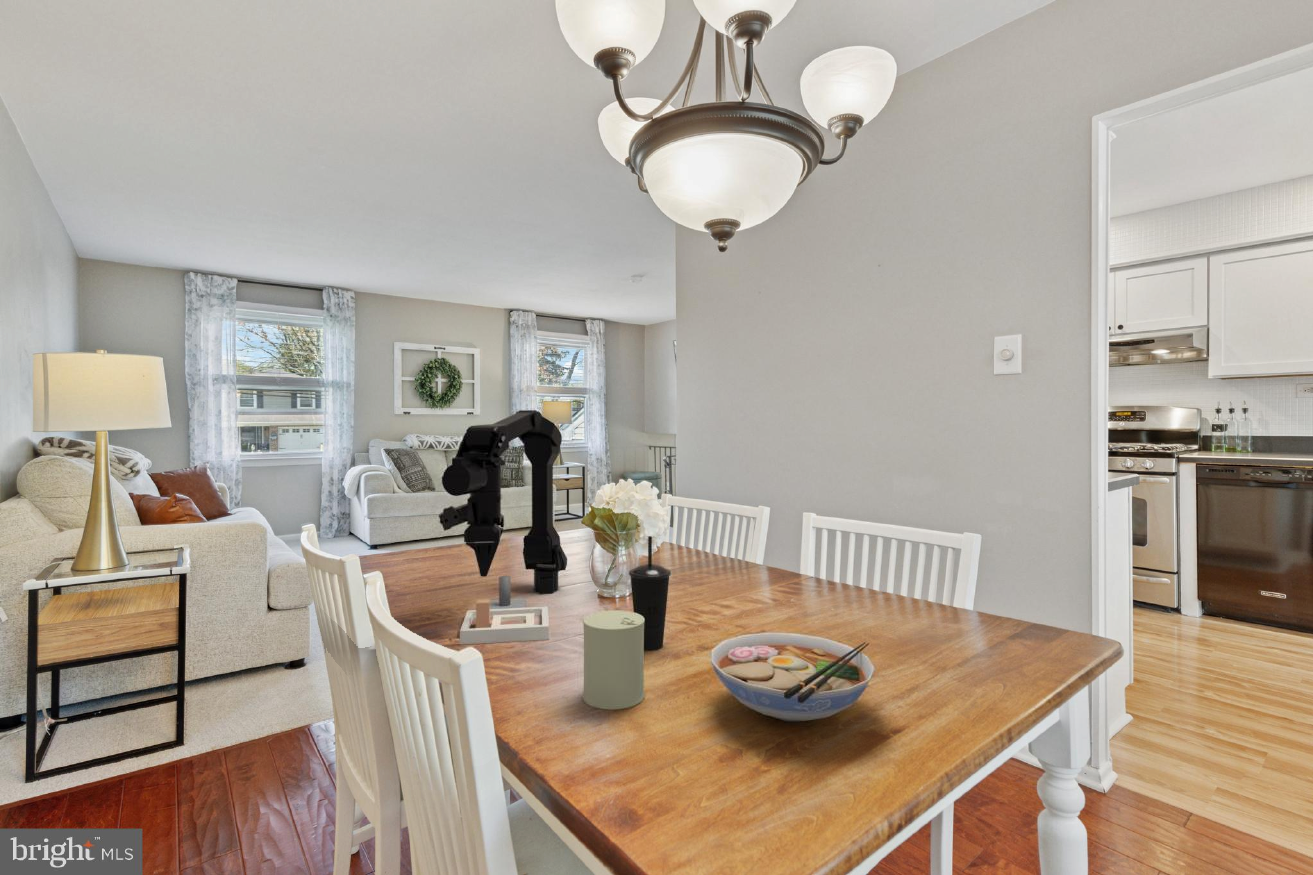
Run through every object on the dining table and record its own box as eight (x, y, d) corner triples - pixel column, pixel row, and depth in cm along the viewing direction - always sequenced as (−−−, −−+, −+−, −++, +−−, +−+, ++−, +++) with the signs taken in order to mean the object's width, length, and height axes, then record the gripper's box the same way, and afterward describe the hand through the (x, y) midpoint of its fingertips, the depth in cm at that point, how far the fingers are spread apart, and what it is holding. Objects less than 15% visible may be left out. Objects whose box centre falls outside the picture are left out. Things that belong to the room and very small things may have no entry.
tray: (467, 622, 128) (467, 610, 128) (547, 618, 131) (547, 606, 131) (459, 644, 115) (459, 631, 115) (548, 639, 118) (548, 626, 118)
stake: (484, 605, 140) (484, 573, 140) (526, 603, 142) (526, 571, 142) (481, 617, 131) (481, 583, 131) (525, 615, 133) (525, 581, 133)
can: (623, 715, 88) (623, 629, 87) (569, 701, 92) (570, 619, 92) (655, 691, 96) (656, 612, 95) (605, 679, 100) (605, 603, 100)
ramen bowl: (763, 664, 106) (763, 616, 106) (901, 703, 92) (902, 647, 92) (671, 717, 87) (672, 658, 87) (828, 776, 73) (829, 706, 72)
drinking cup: (622, 642, 117) (622, 534, 117) (659, 636, 120) (660, 531, 120) (638, 655, 110) (639, 541, 110) (677, 649, 113) (678, 538, 113)
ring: (478, 622, 126) (478, 596, 126) (534, 619, 128) (534, 593, 128) (474, 636, 118) (474, 607, 118) (534, 632, 120) (534, 604, 120)
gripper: (448, 486, 130) (448, 561, 130) (434, 496, 111) (434, 584, 112) (504, 485, 132) (504, 559, 132) (499, 495, 113) (499, 582, 114)
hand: (485, 570), depth 122 cm, fingers open, 9 cm apart
